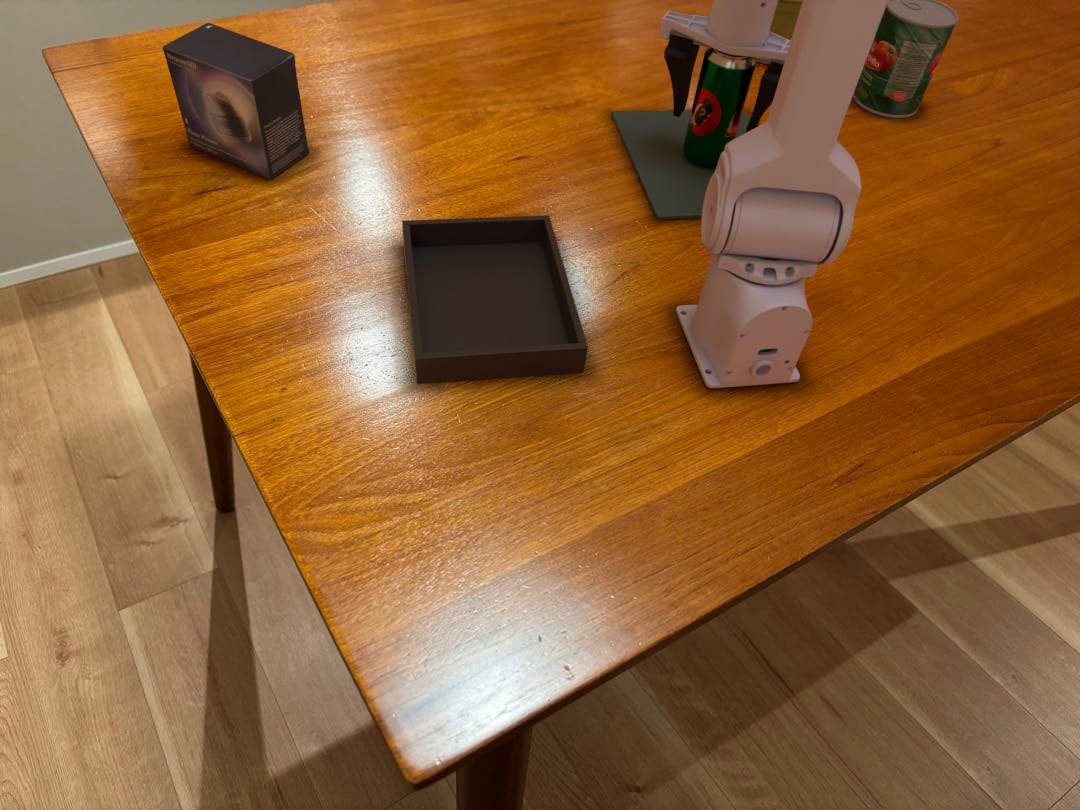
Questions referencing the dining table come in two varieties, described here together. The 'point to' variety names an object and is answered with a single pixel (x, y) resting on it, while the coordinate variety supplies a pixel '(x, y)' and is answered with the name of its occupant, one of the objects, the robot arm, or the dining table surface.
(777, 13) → the plant pot
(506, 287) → the tray
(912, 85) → the canned tomato
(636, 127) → the mat
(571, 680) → the dining table surface
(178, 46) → the small box
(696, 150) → the soda can
